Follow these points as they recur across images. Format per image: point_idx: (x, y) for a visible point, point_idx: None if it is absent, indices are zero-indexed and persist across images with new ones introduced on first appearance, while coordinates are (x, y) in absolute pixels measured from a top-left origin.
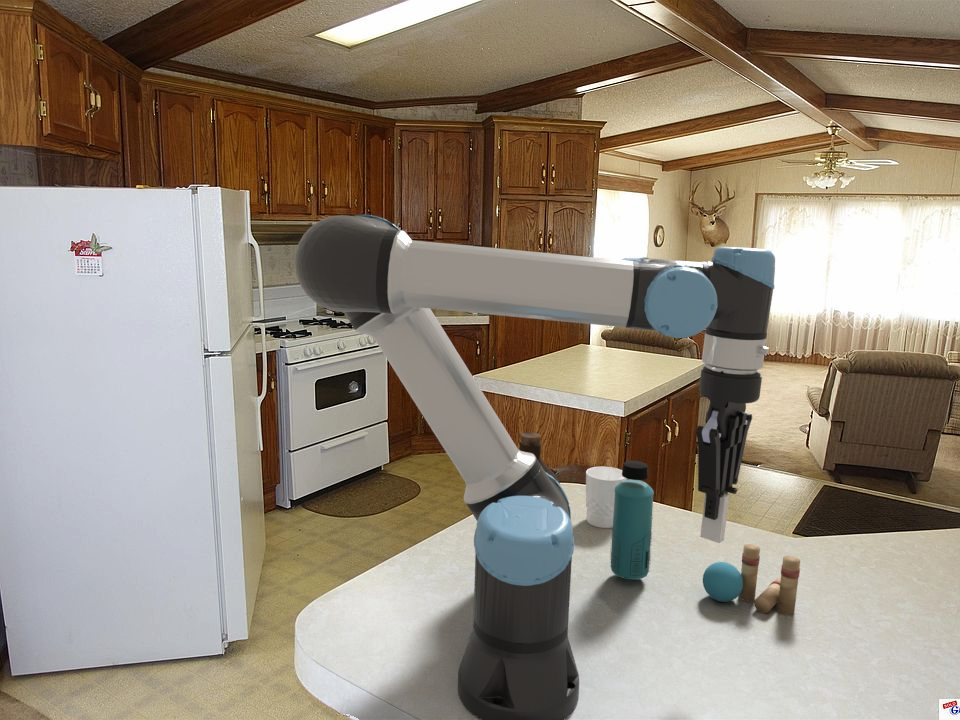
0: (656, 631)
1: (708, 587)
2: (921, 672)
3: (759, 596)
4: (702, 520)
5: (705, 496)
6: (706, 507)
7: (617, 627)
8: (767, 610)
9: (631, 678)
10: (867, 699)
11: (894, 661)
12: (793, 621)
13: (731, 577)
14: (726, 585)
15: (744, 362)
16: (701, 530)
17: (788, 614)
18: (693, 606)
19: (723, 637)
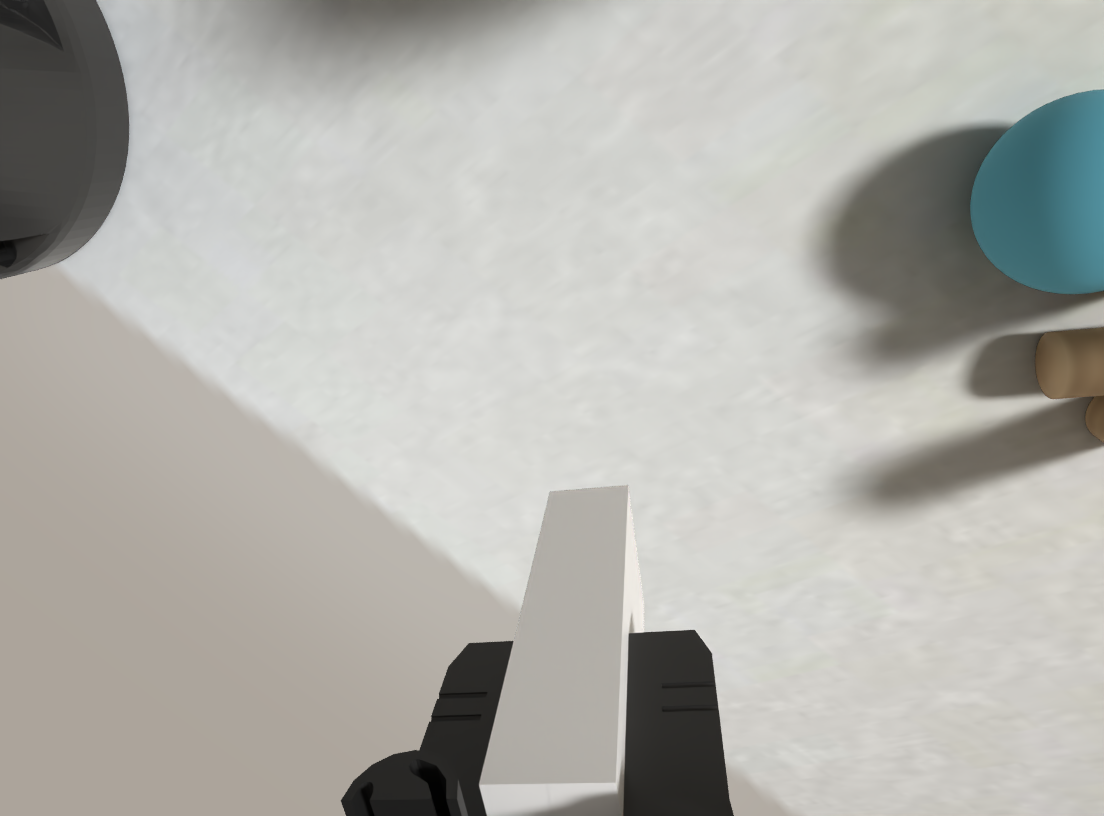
0: (582, 159)
1: (982, 171)
2: (989, 785)
3: (1084, 354)
4: (532, 567)
5: (491, 742)
6: (437, 724)
7: (481, 32)
8: (1042, 383)
9: (294, 277)
10: (742, 725)
11: (1001, 732)
12: (1050, 461)
13: (1058, 271)
14: (1005, 260)
15: None
16: (546, 519)
17: (1092, 432)
18: (882, 139)
19: (741, 347)
